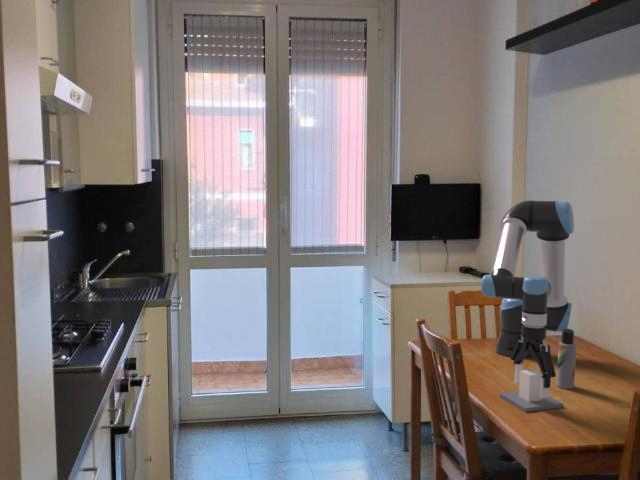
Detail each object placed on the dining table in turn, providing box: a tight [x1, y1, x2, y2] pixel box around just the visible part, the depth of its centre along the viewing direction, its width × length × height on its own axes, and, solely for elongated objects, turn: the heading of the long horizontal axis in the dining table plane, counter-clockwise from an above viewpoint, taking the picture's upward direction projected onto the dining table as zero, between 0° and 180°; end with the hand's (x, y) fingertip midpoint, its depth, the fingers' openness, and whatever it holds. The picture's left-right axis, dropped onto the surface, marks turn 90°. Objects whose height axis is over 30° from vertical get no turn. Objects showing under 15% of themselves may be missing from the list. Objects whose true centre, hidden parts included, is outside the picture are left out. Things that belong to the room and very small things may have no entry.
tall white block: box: [518, 368, 543, 402], centre depth 209 cm, size 5×5×9 cm
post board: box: [499, 390, 564, 413], centre depth 209 cm, size 14×14×8 cm
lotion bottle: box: [556, 328, 577, 390], centre depth 224 cm, size 6×6×20 cm
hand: (531, 390), depth 209 cm, fingers open, 13 cm apart
